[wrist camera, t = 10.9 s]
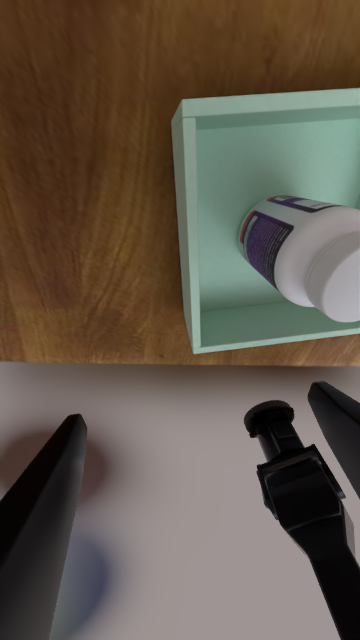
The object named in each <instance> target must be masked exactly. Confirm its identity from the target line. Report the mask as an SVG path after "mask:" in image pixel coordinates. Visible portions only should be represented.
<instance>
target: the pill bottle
mask: <svg viewBox="0 0 360 640" xmlns="http://www.w3.org/2000/svg"><path fill="white" fill-rule="evenodd" d="M238 245H239V249H240V252H241V254H242V256H243V258H244V259H245V260H246V261H247V262H248V263H249V264H250V265H251V266H252V267H253V268H254V269H255V270H256V271H257V272H259V273H260V274H261V275H262V276H263V277H264V278H265V279H266V280H267V281H268V282H269V283H270V284H271V285H272V286H273V287H274V288H276V289H277V290H278V291H279V292H280V293H281V294H282V295H283V296H284V297H286V298H287V299H288V300H289V301H291V302H293V303H295V304H297V305H300V306H305V307H316V308H317V309H319V310H320V311H321V312H323V313H324V314H325V315H326V316H328V317H329V318H331V319H333V320H335V321H338V322H355V321H359V320H360V210H358V209H355V208H351V207H348V206H343V205H337V204H332V203H326V202H321V201H316V200H311V199H306V198H301V197H295V196H289V195H274V196H270V197H268V198H265V199H263V200H261V201H260V202H258V203H257V204H256V205H255V206H253V207H252V208H251V210H250V211H249V212H248V213H247V215H246V216H245V218H244V219H243V221H242V224H241V226H240V229H239V234H238Z"/></svg>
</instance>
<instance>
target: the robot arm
mask: <svg viewBox="0 0 360 640" xmlns="http://www.w3.org/2000/svg"><path fill="white" fill-rule="evenodd" d="M308 401H309V403H310V406H311V408H312V410H313V412H314V415H315V417H316V419H317V422H318V424H319V426H320V428H321V430H322V432H323V435H324V436H325V439H326V441H327V442H328V444H329V446H330V448H331V449H332V451H333V453H334V455H335V457H336V458H337V460H338V462H339V464H340V465H341V467H342V469H343V471H344V472H345V474H346V476H347V478H348V479H349V481H350V483H351V485H352V486H353V488H354V490H355V492H356V493H357V495H358V497H359V499H360V403H359V402H357V401H355V400H354V399H352V398H351V397H349V396H347V395H346V394H344V393H342V392H341V391H339V390H338V389H336V388H334V387H333V386H331V385H330V384H328V383H326V382H324V381H319V382H313V383H312V385H311V388H310V390H309V393H308ZM293 413H294V409H293V408H292V407H289V408H282V409H275V410H268V411H261V412H255V413H253V415H252V421H251V427H250V432H249V436H250V437H251V438H255V437H257V438H258V440H259V443H260V445H261V447H262V450H263V453H264V455H265V458H266V460H267V462H266V463H264V464H261V465H260V464H259V465H257V469H258V471H257V475H258V478H259V481H260V484H261V489H262V494H263V500H264V504H265V506H266V507H267V508H268V509H270V511H271V512H272V514H273V515H274V517H275V519H276V520H279V522H280V525H281V526H282V527H283V529H284V530H285V531H286V533H287V534H288V535H289V536H290V538H291V539H292V540H293V542H294V543H295V544H296V545H297V546H298V547H299V548H300V549H301V550H302V552H303V553H304V554H305V555H306V556H307V557H308V558H309V559H310V562H311V564H312V567H313V570H314V572H315V575H316V577H317V580H318V582H319V585H320V587H321V590H322V593H323V595H324V598H325V600H326V602H327V605H328V608H329V611H330V613H331V616H332V618H333V620H334V623H335V626H336V628H337V631H338V634H339V636H340V639H341V640H360V566H359V564H358V562H357V560H356V558H355V543H354V526H353V522H352V520H351V519H350V517H349V515H348V513H347V511H346V509H345V507H344V505H343V503H342V501H341V500H342V499H345V498H346V496H345V495H344V493H343V491H342V489H341V487H340V485H339V484H338V482H337V481H336V479H335V477H334V475H333V474H332V472H331V470H330V469H329V467H328V465H327V464H326V462H325V461H324V459H323V458H322V456H321V454H320V452H319V451H318V449H317V448H316V446H315V444H312V445H311V446H309V447H306V448H305V447H304V445H303V443H302V442H301V440H300V438H299V436H298V434H297V433H296V431H295V429H294V427H293V426H292V424H291V419H292V416H293ZM86 440H87V426H86V424H85V421H84V419H83V417H82V416H81V414H73V415H69V416H68V417H67V418H66V419H65V420H64V421H63V423H62V424H61V425H60V426H59V428H58V429H57V430H56V432H55V433H54V434H53V435H52V437H51V438H50V439H49V440H48V441H47V443H46V444H45V445H44V447H43V448H42V449H41V450H40V451H39V453H38V454H37V455H36V456H35V458H34V459H33V460H32V462H31V463H30V464H29V465H28V467H27V468H26V469H25V470H24V472H23V473H22V474H21V475H20V477H19V478H18V479H17V480H16V482H15V483H14V484H13V485H12V487H11V488H10V489H9V490H8V492H7V493H6V494H5V495H4V497H3V498H2V499H1V500H0V640H49V637H50V631H51V627H52V622H53V617H54V612H55V607H56V603H57V598H58V593H59V588H60V584H61V578H62V574H63V569H64V564H65V559H66V554H67V550H68V544H69V540H70V535H71V531H72V526H73V521H74V516H75V511H76V506H77V501H78V497H79V492H80V487H81V482H82V477H83V469H84V460H85V450H86Z"/></svg>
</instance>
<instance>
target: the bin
mask: <svg viewBox="0 0 360 640" xmlns="http://www.w3.org/2000/svg"><path fill="white" fill-rule="evenodd" d="M171 129H172V144H173V159H174V173H175V188H176V203H177V218H178V233H179V248H180V263H181V278H182V292H183V307H184V317H185V321H186V326H187V330H188V334H189V338H190V342H191V347H192V351H193V354H199V353H207V352H215V351H223V350H231V349H239V348H247V347H255V346H263V345H271V344H279V343H287V342H295V341H303V340H311V339H319V338H327V337H335V336H343V335H351V334H359V333H360V320H359V321H355V322H338V321H335V320H333V319H331V318H329V317H328V316H326V315H325V314H324V313H323V312H321V311H320V310H319V309H317V308H316V307H305V306H300V305H297V304H295V303H293V302H291V301H289V300H288V299H287V298H286V297H284V296H283V295H282V294H281V293H280V292H279V291H278V290H277V289H276V288H274V287H273V286H272V285H271V284H270V283H269V282H268V281H267V280H266V279H265V278H264V277H263V276H262V275H261V274H260V273H259V272H257V271H256V270H255V269H254V268H253V267H252V266H251V265H250V264H249V263H248V262H247V261H246V260H245V259H244V258H243V256H242V254H241V252H240V249H239V245H238V234H239V229H240V226H241V224H242V221H243V219H244V218H245V216H246V215H247V213H248V212H249V211H250V210H251V208H252V207H253V206H255V205H256V204H257V203H258V202H260V201H261V200H263V199H265V198H268V197H270V196H274V195H289V196H295V197H301V198H306V199H311V200H316V201H321V202H326V203H332V204H337V205H343V206H348V207H351V208H355V209H358V210H360V88H348V89H332V90H317V91H301V92H285V93H270V94H254V95H239V96H223V97H207V98H192V99H182V100H181V102H180V104H179V106H178V108H177V110H176V112H175V114H174V116H173V119H172V121H171Z"/></svg>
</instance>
